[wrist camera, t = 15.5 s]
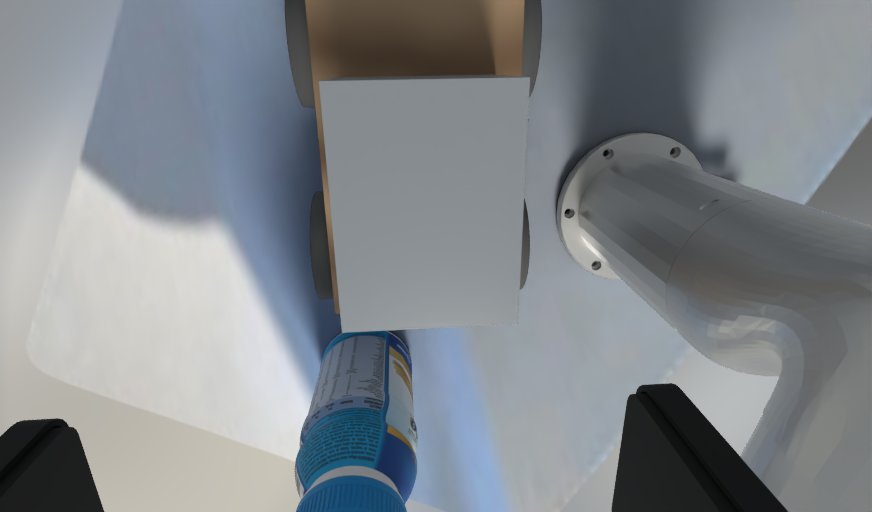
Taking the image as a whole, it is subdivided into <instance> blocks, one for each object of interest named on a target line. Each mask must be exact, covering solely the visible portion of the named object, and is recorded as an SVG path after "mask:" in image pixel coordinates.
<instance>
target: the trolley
mask: <svg viewBox="0 0 872 512" xmlns="http://www.w3.org/2000/svg"><path fill="white" fill-rule="evenodd" d="M285 22H286V34H287V44H288V52H289V59H290V65H291V70H292V75H293V80H294V84H295V88H296V91H297V95H298V97H299V100H300V102H301V104H302V105H303V107H315V109H316V119H317V130H318V140H319V151H320V161H321V172H322V182H323V192H316V193H315V194H314V197H313V200H312V206H311V216H310V249H311V262H312V271H313V277H314V283H315V287H316V290H317V293H318V296H319V297H320V298H334V307H335V314H340V317H341V328H342V333H347V332H368V331H388V330H409V329H430V328H450V327H471V326H491V325H512V324H518V313H519V293H520V290H521V289H522V288H523V286H524V284H525V282H526V278H527V273H528V267H529V254H530V235H529V221H528V213H527V208H526V203H525V199H524V191H525V170H526V150H527V129H528V109H529V98H530V96H531V93H532V91H533V88H534V85H535V81H536V76H537V72H538V66H539V59H540V50H541V36H542V9H541V0H285Z"/></svg>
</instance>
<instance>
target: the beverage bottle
mask: <svg viewBox="0 0 872 512" xmlns="http://www.w3.org/2000/svg"><path fill="white" fill-rule="evenodd" d="M416 450H417V429H416V425H415V421H414V410H413V393H412V363H411V357H410V354H409V351H408V349H407V348H406V346H405V344H404V343H403V342H402V341H401V340H400V339H399V338H398V337H397V336H396V335H394V334H393V333H391V332H389V331H368V332H347V333H341V334H339V335H338V336H337V337H335V338H334V339H333V340H332V341H331V342H330V344H329V345H328V346H327V348H326V350H325V352H324V354H323V358H322V361H321V367H320V372H319V376H318V380H317V383H316V387H315V391H314V395H313V398H312V402H311V406H310V409H309V413H308V416H307V417H306V419H305V422H304V424H303V427H302V431H301V437H300V450H299V452H298V455H297V458H296V463H295V480H296V486H297V490H298V493H299V496H300V499H301V501H300V503H299V505H298V507H297V510H296V512H407V511H406V507H405V503H406V501H407V500H408V498H409V496H410V494H411V491H412V489H413V486H414V483H415V479H416V474H417V460H416Z"/></svg>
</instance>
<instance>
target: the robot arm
mask: <svg viewBox="0 0 872 512" xmlns="http://www.w3.org/2000/svg"><path fill="white" fill-rule="evenodd" d="M671 149H672V152H671V153H670V151H671ZM605 150H607V153H606V154H605V155H604V156H603V152H604V151H605ZM567 209H569V211H568V212H567V213H565V211H566V210H567ZM557 227H558V231H559V234H560V238H561V241H562V243H563V245H564V246H565V248H566V250H567V252H568V253H569V254H570V255H571V256H572V258H573V259H574V260H575V261H576V262H577V263H578V264H579V265H580V266H581V267H582V268H584V269H585V270H587V271H589V272H590V273H592V274H594V275H597V276H600V277H603V278H606V279H613V280H623V281H624V282H625V283H626V284H627V285H628V286H629V287H630V288H631V289H632V290H633V291H634V292H635V293H637V294H638V295H639V296H640V297H641V298H642V299H643V300H644V301H645V302H646V303H647V304H648V305H649V306H650V307H651V308H652V309H653V310H654V311H656V312H657V313H658V314H659V315H660V316H661V317H662V318H663V319H664V320H665V321H666V322H667V323H668V324H669V325H670V326H671V327H672V328H673V329H675V330H676V331H677V332H678V333H679V334H680V335H681V336H682V337H683V338H684V339H685V340H686V341H687V342H688V343H689V344H690V345H692V346H693V347H694V348H695V349H696V350H698V351H699V352H700V353H701V354H702V355H704V356H705V357H707V358H708V359H710V360H712V361H713V362H715V363H717V364H719V365H721V366H723V367H726V368H729V369H732V370H735V371H738V372H742V373H746V374H753V375H761V376H779V380H778V382H777V385H776V387H775V389H774V391H773V393H772V395H771V397H770V399H769V401H768V403H767V405H766V407H765V408H764V411H763V415H762V417H761V419H760V421H759V423H758V425H757V426H756V428H755V430H754V432H753V434H752V436H751V437H750V439H749V441H748V443H747V445H746V447H745V449H744V450H743V452H742V454H741V456H739V455H738V454H737V453H736V452H735V450H734V449H733V448H732V447H731V446H730V445H729V444H728V443H727V441H726V440H725V439H724V438H723V437H722V436H721V435H720V433H719V432H718V431H717V430H716V429H715V428H714V427H713V425H712V424H711V423H710V422H709V421H708V420H707V419H706V418H705V416H704V415H703V414H702V413H701V412H700V411H699V409H698V408H697V407H696V406H695V405H694V404H693V403H692V402H691V400H690V399H689V398H688V397H687V396H686V395H685V393H684V392H683V391H682V390H681V389H680V388H679V387H678V386H676V385H675V384H672V383H671V384H653V385H642V386H639V388H638V389H637V392H636V394H631V395H630V396H629V397H628V400H627V406H626V413H625V420H624V427H623V434H622V441H621V448H620V454H619V462H618V469H617V475H616V482H615V489H614V496H613V503H612V512H872V226H870V225H867V224H863V223H859V222H856V221H853V220H849V219H846V218H842V217H839V216H835V215H832V214H829V213H826V212H822V211H819V210H816V209H814V208H811V207H808V206H805V205H802V204H799V203H796V202H793V201H789V200H785V199H782V198H780V197H777V196H774V195H771V194H768V193H765V192H762V191H759V190H756V189H753V188H750V187H747V186H745V185H742V184H739V183H736V182H733V181H730V180H727V179H724V178H721V177H718V176H715V175H712V174H710V173H707V172H704V171H703V169H702V167H701V165H700V163H699V162H698V160H697V159H696V157H695V156H694V154H693V153H692V152H690V151H689V150H688V149H687V148H686V147H685V146H684V145H682V144H681V143H679V142H677V141H675V140H673V139H672V138H668V137H665V136H662V135H658V134H652V133H647V132H643V133H629V134H624V135H620V136H616V137H614V138H612V139H609V140H607V141H605V142H603V143H601V144H600V145H598V146H596V147H595V148H593V149H592V150H590V151H589V152H588V153H587V154H586V155H585V156H584V157H583V158H582V159H581V160H579V162H578V163H577V164H576V165H575V167H574V168H573V169H572V171H571V172H570V173H569V175H568V177H567V179H566V181H565V183H564V185H563V187H562V190H561V193H560V196H559V200H558V207H557ZM593 262H595V263H594V264H592V263H593ZM0 512H104V510H103V507H102V504H101V501H100V498H99V495H98V492H97V489H96V486H95V483H94V480H93V477H92V474H91V471H90V468H89V465H88V462H87V459H86V456H85V452H84V450H83V447H82V443H81V441H80V437H79V434H78V432H77V431H76V429H74V428H73V427H69V426H68V424H67V423H66V422H65V421H64V420H63V419H41V420H26V421H25V420H24V421H20V422H17V423H16V424H14V425H13V426H11V427H10V428H9V429H8V430H7V431H6V432H5V433H4V434H3V435H2V436H1V437H0Z"/></svg>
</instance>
